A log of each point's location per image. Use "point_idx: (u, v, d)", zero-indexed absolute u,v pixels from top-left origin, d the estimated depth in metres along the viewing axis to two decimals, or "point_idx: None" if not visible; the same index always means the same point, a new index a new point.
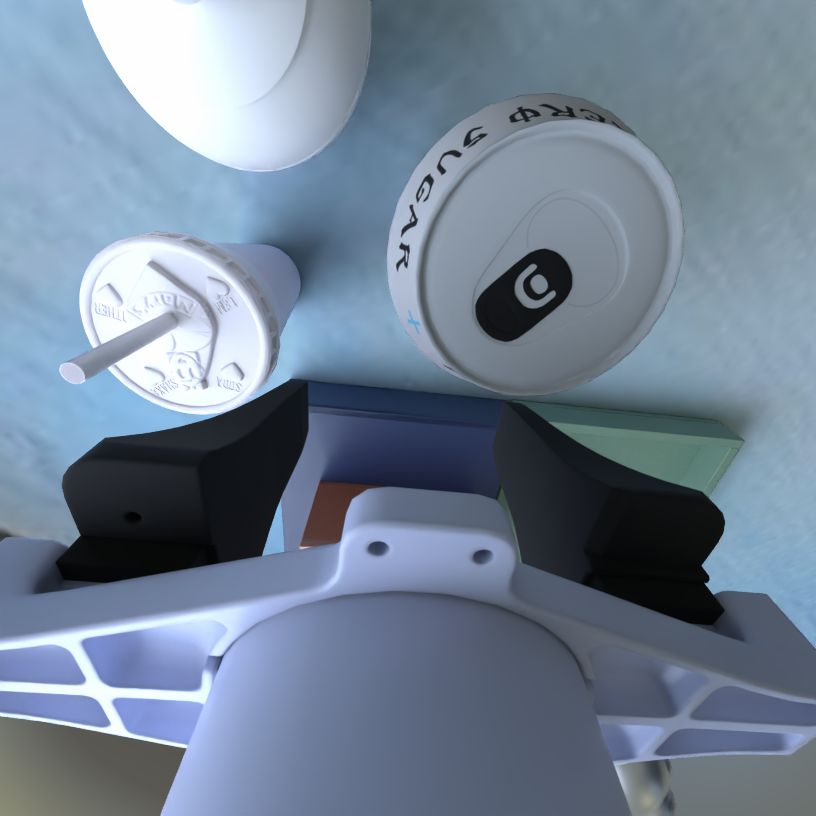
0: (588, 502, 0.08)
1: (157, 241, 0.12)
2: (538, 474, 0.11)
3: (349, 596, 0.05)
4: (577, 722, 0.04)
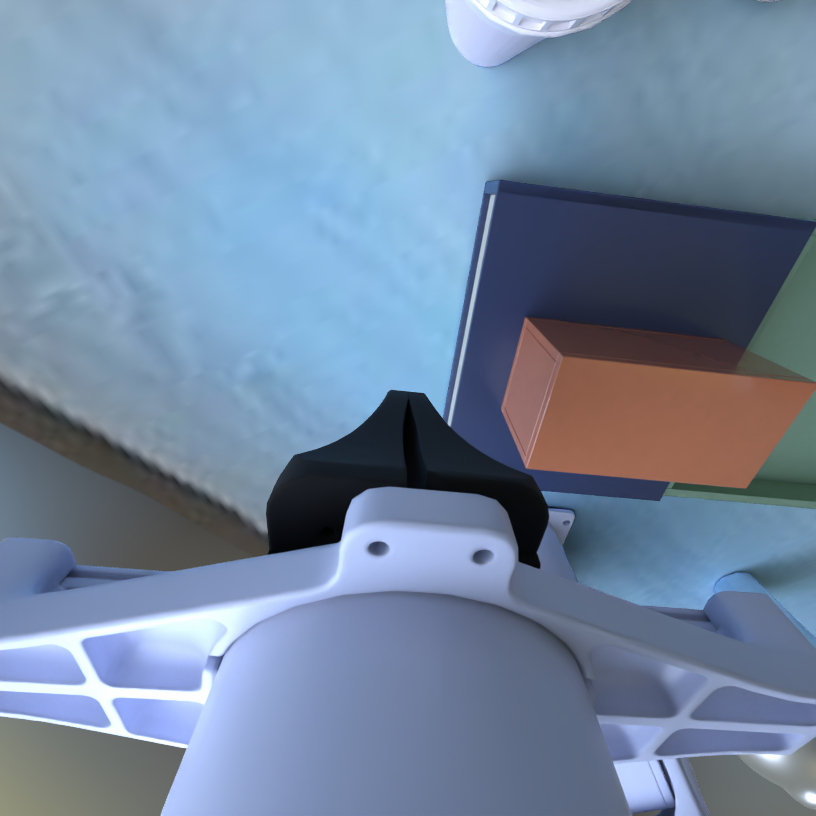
0: (421, 488, 0.08)
1: None
2: (413, 463, 0.10)
3: (349, 596, 0.05)
4: (577, 722, 0.04)
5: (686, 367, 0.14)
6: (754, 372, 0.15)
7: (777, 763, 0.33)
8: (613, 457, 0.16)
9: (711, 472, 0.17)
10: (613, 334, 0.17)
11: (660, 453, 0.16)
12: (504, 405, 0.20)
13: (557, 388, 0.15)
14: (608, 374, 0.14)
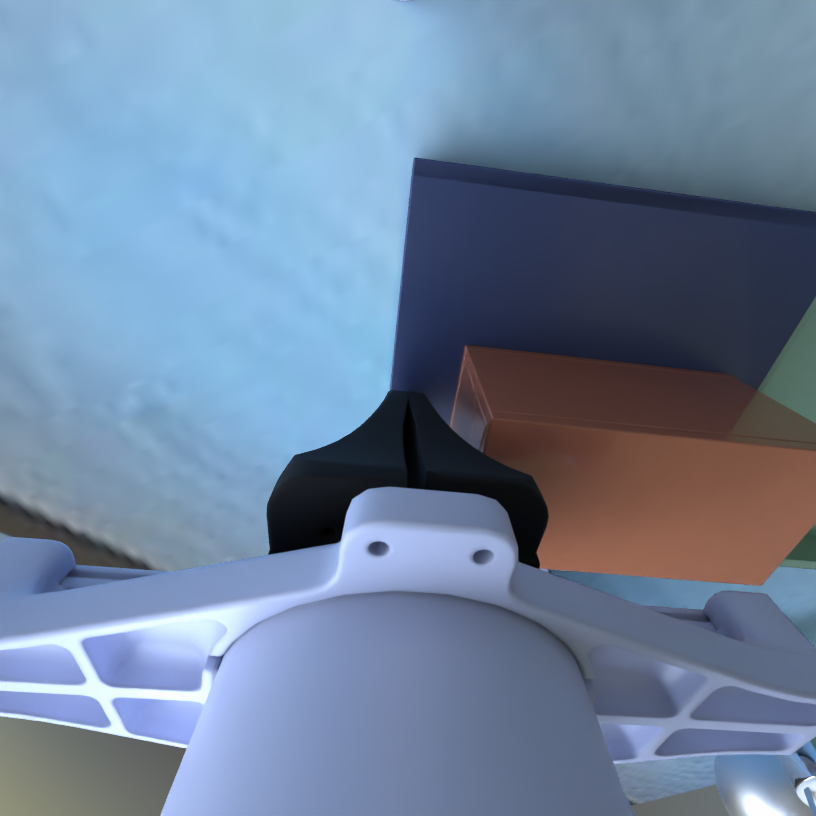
0: (421, 488, 0.08)
1: None
2: (413, 463, 0.10)
3: (349, 596, 0.05)
4: (577, 722, 0.04)
5: (678, 433, 0.10)
6: (777, 437, 0.10)
7: None
8: (576, 549, 0.12)
9: (713, 567, 0.12)
10: (580, 372, 0.13)
11: (642, 544, 0.11)
12: None
13: None
14: (562, 444, 0.10)
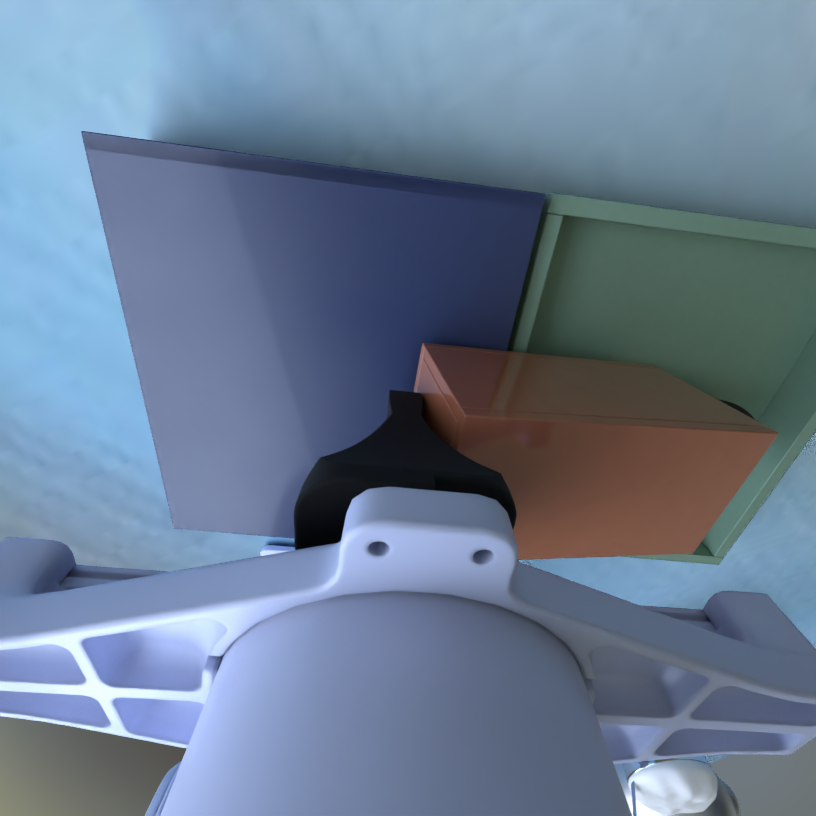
0: None
1: None
2: None
3: (349, 596, 0.05)
4: (577, 722, 0.04)
5: (629, 421, 0.10)
6: (706, 421, 0.11)
7: None
8: (540, 537, 0.12)
9: (656, 541, 0.13)
10: (534, 367, 0.13)
11: (598, 527, 0.12)
12: None
13: None
14: (530, 437, 0.10)
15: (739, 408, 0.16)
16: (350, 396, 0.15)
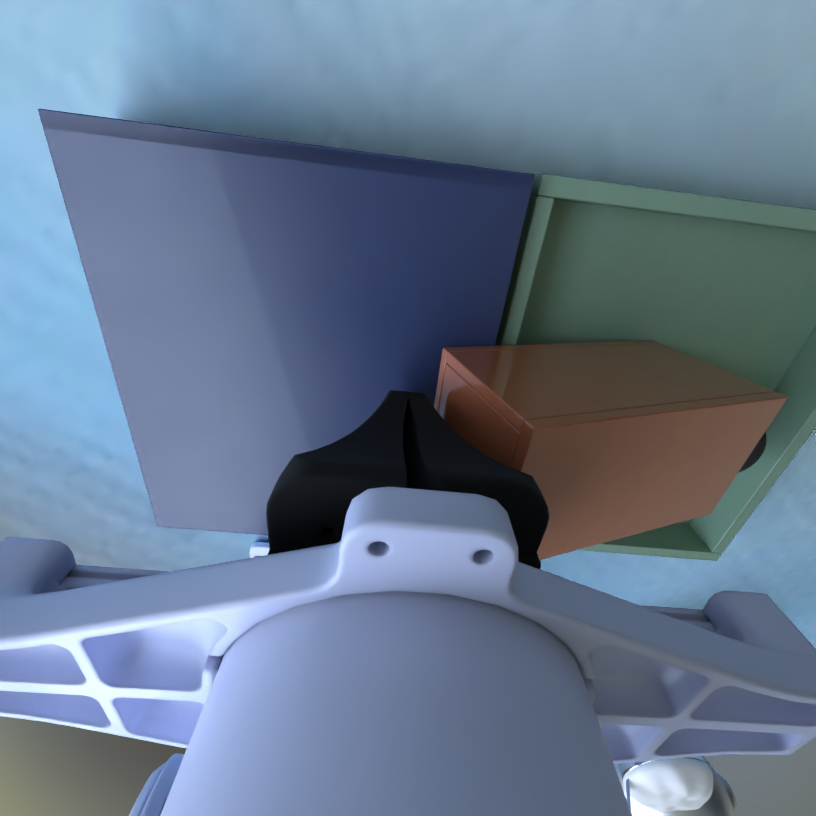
0: (421, 488, 0.08)
1: None
2: (413, 463, 0.10)
3: (349, 596, 0.05)
4: (577, 722, 0.04)
5: (672, 407, 0.11)
6: (729, 394, 0.12)
7: None
8: (590, 527, 0.12)
9: (683, 509, 0.14)
10: (557, 360, 0.13)
11: (638, 507, 0.13)
12: None
13: (526, 471, 0.10)
14: (589, 438, 0.10)
15: None
16: (334, 390, 0.15)
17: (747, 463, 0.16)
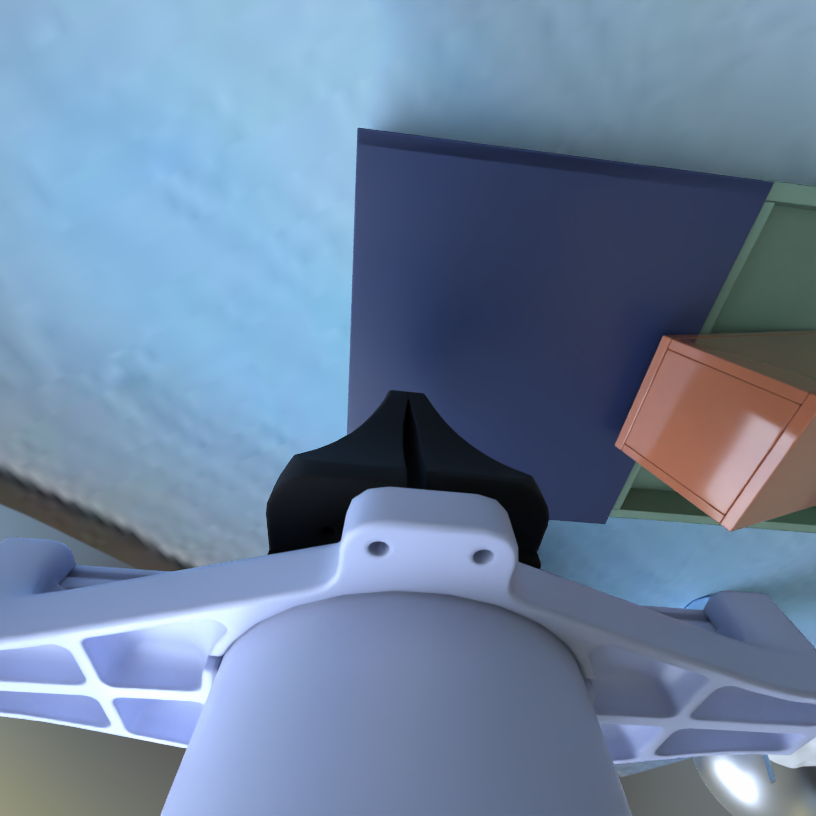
0: (421, 487, 0.08)
1: None
2: (413, 463, 0.10)
3: (349, 596, 0.05)
4: (577, 722, 0.04)
5: None
6: None
7: (754, 809, 0.30)
8: (807, 493, 0.14)
9: None
10: (764, 346, 0.15)
11: None
12: (627, 442, 0.17)
13: (802, 437, 0.11)
14: None
15: None
16: (543, 375, 0.16)
17: None
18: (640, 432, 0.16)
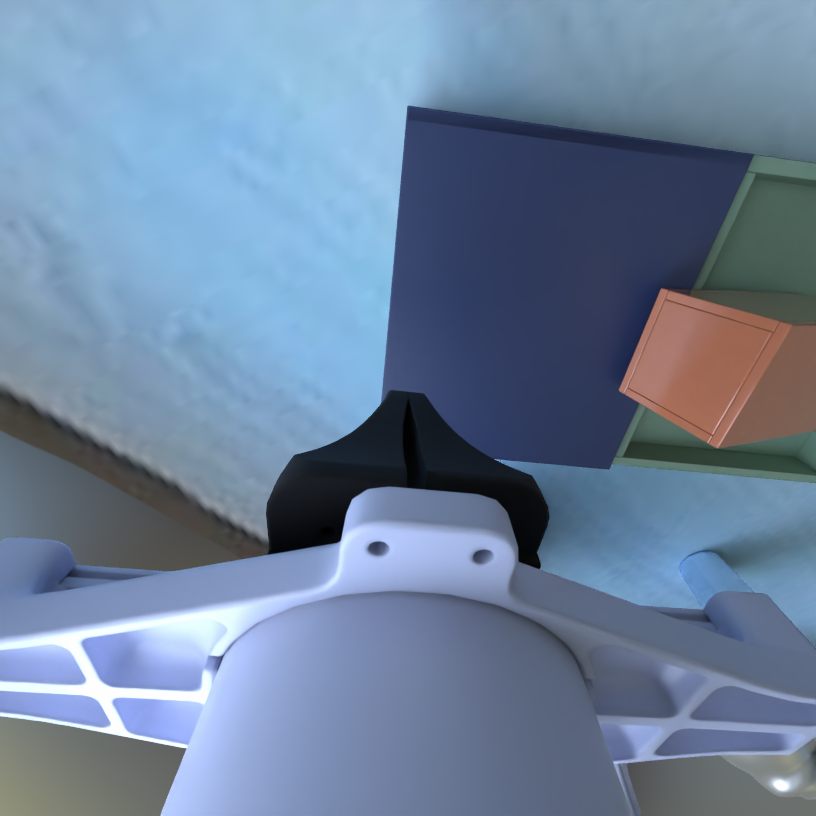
0: (421, 487, 0.08)
1: None
2: (413, 463, 0.10)
3: (349, 596, 0.05)
4: (577, 722, 0.04)
5: None
6: None
7: None
8: (783, 419, 0.16)
9: None
10: (747, 298, 0.17)
11: (815, 407, 0.17)
12: (630, 386, 0.19)
13: (775, 360, 0.14)
14: (815, 338, 0.14)
15: None
16: (557, 327, 0.19)
17: None
18: (641, 375, 0.18)
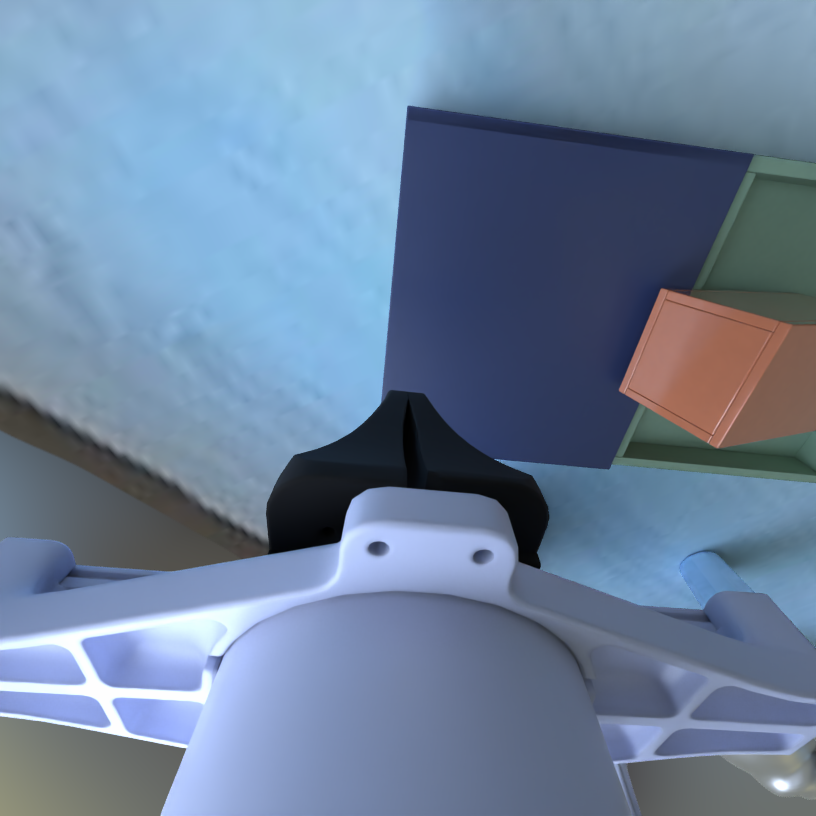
0: (421, 487, 0.08)
1: None
2: (413, 463, 0.10)
3: (349, 596, 0.05)
4: (577, 722, 0.04)
5: None
6: None
7: None
8: (783, 419, 0.16)
9: None
10: (747, 298, 0.17)
11: (815, 407, 0.17)
12: (630, 386, 0.19)
13: (775, 360, 0.14)
14: (815, 338, 0.14)
15: None
16: (557, 327, 0.19)
17: None
18: (641, 375, 0.18)
